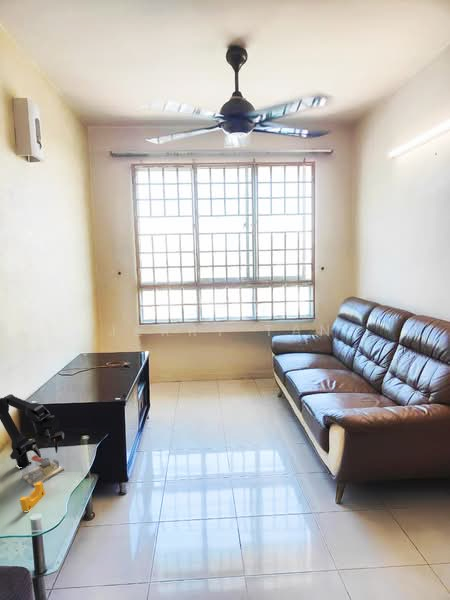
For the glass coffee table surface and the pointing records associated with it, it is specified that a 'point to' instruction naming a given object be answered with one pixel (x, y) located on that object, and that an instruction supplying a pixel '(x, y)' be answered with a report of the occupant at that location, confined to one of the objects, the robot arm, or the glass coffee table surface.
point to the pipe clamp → (33, 497)
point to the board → (43, 478)
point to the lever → (41, 460)
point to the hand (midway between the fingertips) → (48, 455)
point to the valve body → (43, 471)
